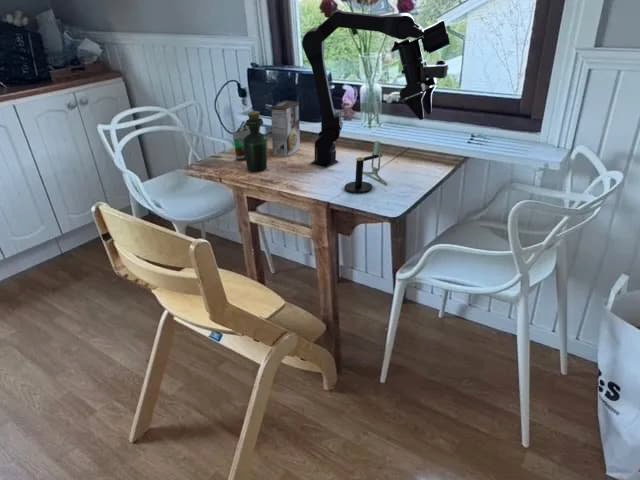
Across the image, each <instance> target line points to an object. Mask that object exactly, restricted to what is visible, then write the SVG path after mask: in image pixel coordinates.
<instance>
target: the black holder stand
mask: <svg viewBox="0 0 640 480" xmlns="http://www.w3.org/2000/svg"><path fill="white" fill-rule="evenodd" d="M379 154H381V158H382V157H383V156H384V154H383V153H381V152H380V153H379ZM372 159H379V156H378V155H376V154H374V155H372V154H371V155H369V156H368V155H367V156H365V157H364V156H359V157H356V159H355V162H356V165H355V179H354V180H355V181H350V182H347V183H346V184H345V185H344V191H345V192H347V193H350V194H353V195H354V194H355V195H360V194H361V195H363V194H367V193H369V192H371V191H372V190H373V184H372V183H370V182H367V181H363V175H364V174H363V172H364V162H367V161H372Z"/></svg>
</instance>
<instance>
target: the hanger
mask: <svg viewBox="0 0 640 480" xmlns="http://www.w3.org/2000/svg"><path fill="white" fill-rule="evenodd" d="M373 144H374V145H373V151H372V154H371V156H372V155H378V156H379V158H378V162H377V167H375V166H374V161H375V160H374V159H371V171H363V175H364V176H366V177H368V178H369V179H371V180H374V181H375V182H377V183H379V184H381V185H383V186H385V187H388V182H386V181H385V179H384V178H382V177H381V176H380V175H379V172H380V169H381V159H382V157H381V154H380V153H381V141H380V140H375V141H374V143H373ZM373 175H374V176H373Z"/></svg>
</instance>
